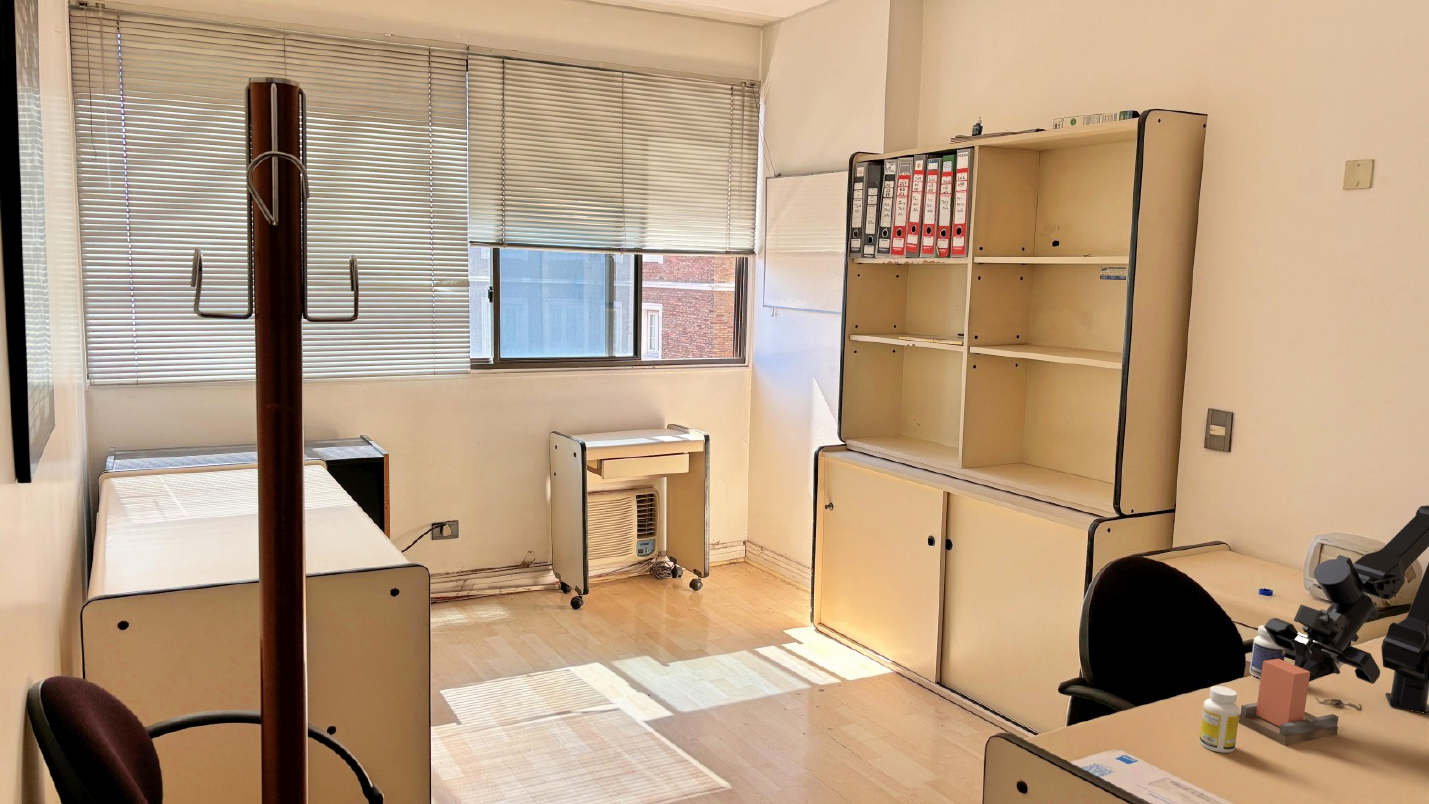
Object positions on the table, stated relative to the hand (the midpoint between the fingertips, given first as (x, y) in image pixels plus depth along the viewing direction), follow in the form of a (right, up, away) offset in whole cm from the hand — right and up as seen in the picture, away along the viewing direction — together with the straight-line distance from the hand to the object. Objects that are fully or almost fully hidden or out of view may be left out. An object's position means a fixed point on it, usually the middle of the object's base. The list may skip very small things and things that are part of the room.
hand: (1292, 685), depth 177 cm
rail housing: (0, -8, +1) cm, 8 cm away
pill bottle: (+9, -6, +25) cm, 27 cm away
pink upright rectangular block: (-3, -6, 0) cm, 7 cm away
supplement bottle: (-17, -8, -8) cm, 21 cm away
